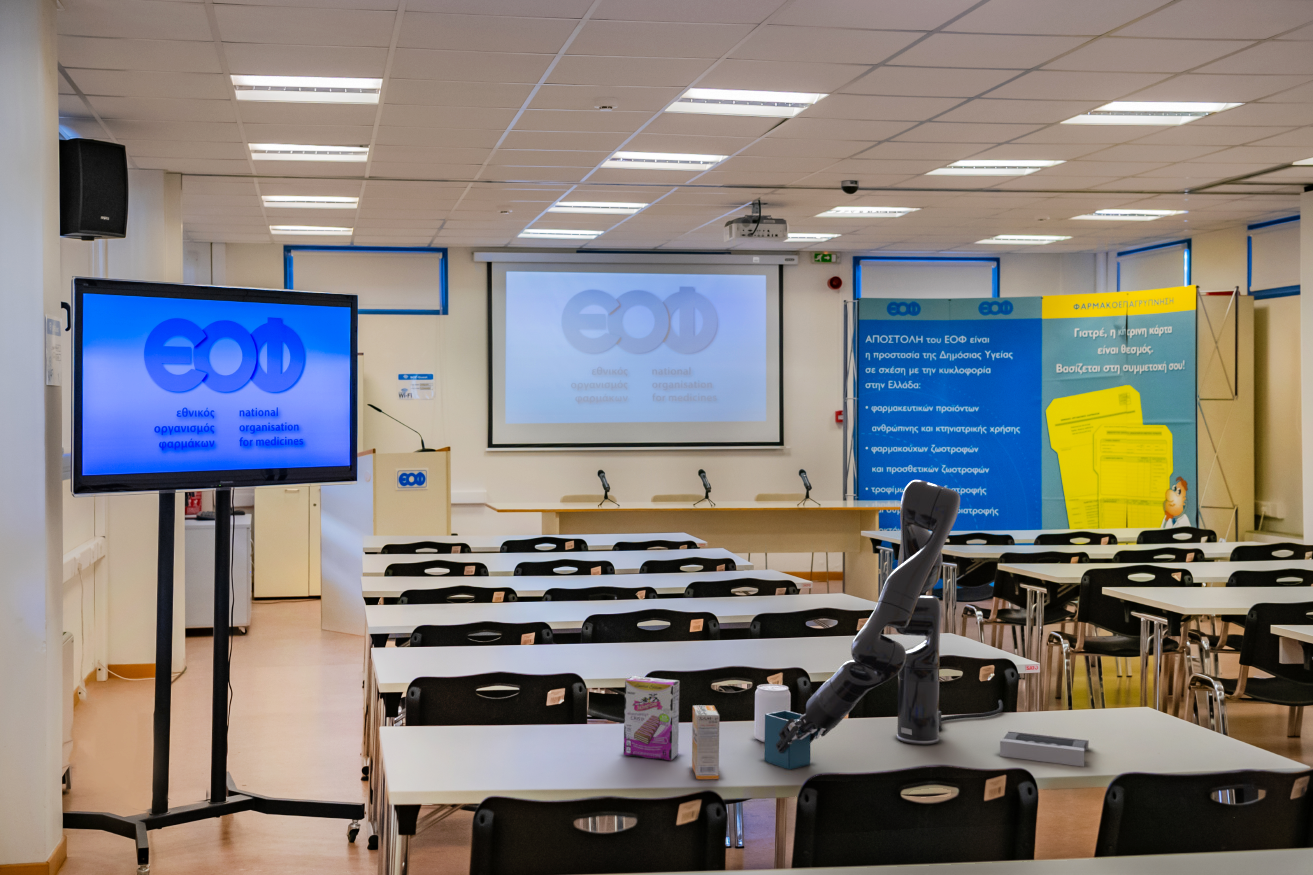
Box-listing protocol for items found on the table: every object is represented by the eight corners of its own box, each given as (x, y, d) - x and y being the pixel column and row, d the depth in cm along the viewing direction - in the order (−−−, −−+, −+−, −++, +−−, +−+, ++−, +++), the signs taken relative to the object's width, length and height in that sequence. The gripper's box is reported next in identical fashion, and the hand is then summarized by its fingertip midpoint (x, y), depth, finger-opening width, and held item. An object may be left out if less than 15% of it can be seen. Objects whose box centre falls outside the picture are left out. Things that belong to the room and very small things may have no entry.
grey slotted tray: (1000, 740, 240) (1009, 718, 255) (1000, 761, 241) (1009, 738, 255) (1083, 750, 233) (1088, 727, 248) (1083, 772, 233) (1088, 747, 248)
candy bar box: (622, 755, 236) (623, 679, 236) (630, 750, 241) (631, 675, 241) (671, 761, 232) (673, 683, 233) (679, 755, 237) (680, 679, 237)
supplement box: (690, 767, 228) (691, 704, 228) (713, 767, 228) (714, 704, 228) (695, 779, 220) (696, 714, 220) (719, 779, 220) (720, 714, 220)
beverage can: (788, 745, 247) (789, 691, 247) (752, 742, 248) (753, 689, 248) (791, 736, 255) (792, 684, 255) (756, 733, 256) (757, 682, 256)
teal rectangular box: (764, 713, 234) (789, 721, 228) (785, 709, 238) (810, 716, 232) (764, 760, 234) (789, 769, 228) (785, 756, 238) (810, 764, 232)
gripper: (817, 721, 217) (774, 768, 226) (866, 712, 226) (822, 757, 235) (798, 690, 221) (756, 736, 230) (847, 681, 230) (804, 727, 239)
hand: (790, 746), depth 232 cm, fingers closed on teal rectangular box, 6 cm apart
